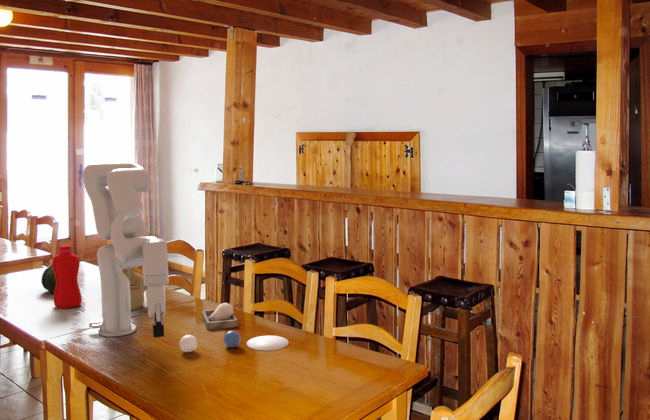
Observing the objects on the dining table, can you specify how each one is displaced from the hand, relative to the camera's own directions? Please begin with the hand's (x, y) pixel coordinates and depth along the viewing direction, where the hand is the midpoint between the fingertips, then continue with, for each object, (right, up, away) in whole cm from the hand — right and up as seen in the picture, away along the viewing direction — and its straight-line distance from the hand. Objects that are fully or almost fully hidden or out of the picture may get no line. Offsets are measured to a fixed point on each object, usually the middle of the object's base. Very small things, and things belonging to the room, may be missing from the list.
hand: (158, 336), depth 185 cm
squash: (-66, +3, +77) cm, 101 cm away
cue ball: (+8, -3, +4) cm, 10 cm away
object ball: (+22, -3, +9) cm, 23 cm away
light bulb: (+13, -2, +35) cm, 38 cm away
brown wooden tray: (+13, -2, +35) cm, 38 cm away
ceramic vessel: (-28, 0, +53) cm, 60 cm away
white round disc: (+33, -5, +13) cm, 36 cm away
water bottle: (-53, +1, +55) cm, 77 cm away
